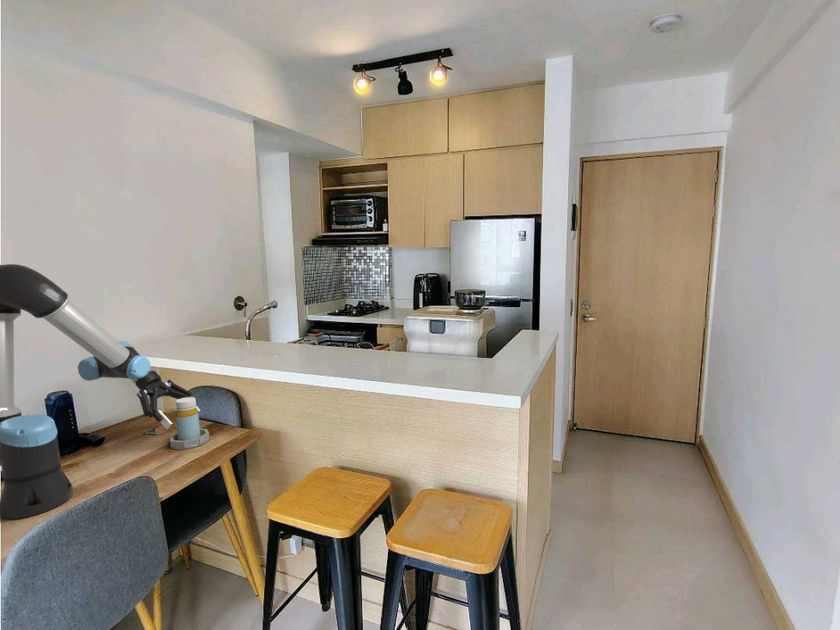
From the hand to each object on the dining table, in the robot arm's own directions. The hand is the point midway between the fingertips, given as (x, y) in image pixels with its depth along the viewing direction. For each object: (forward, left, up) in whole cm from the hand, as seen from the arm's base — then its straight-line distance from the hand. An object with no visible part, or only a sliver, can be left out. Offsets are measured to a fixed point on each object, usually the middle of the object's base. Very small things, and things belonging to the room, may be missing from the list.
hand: (184, 419), depth 156 cm
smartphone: (+12, +19, -9) cm, 24 cm away
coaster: (0, -2, -8) cm, 9 cm away
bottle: (0, -2, -8) cm, 8 cm away
